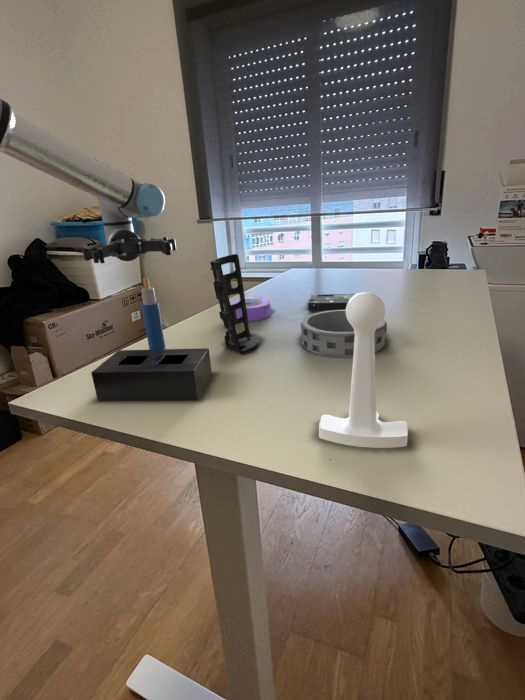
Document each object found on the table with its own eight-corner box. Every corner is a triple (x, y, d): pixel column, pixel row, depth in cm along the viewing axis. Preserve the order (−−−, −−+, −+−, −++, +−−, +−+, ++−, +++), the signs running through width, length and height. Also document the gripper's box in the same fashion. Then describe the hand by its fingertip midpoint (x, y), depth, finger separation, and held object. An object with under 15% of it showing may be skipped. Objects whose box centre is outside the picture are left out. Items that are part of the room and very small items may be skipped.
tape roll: (274, 319, 110) (273, 305, 109) (231, 323, 108) (230, 309, 107) (267, 308, 121) (266, 295, 119) (228, 312, 119) (227, 299, 118)
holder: (258, 353, 86) (241, 258, 79) (223, 358, 86) (203, 264, 80) (260, 336, 96) (245, 251, 89) (229, 341, 97) (211, 257, 90)
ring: (291, 335, 96) (290, 315, 94) (361, 325, 99) (361, 305, 98) (319, 363, 79) (319, 339, 77) (403, 349, 83) (404, 326, 81)
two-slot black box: (198, 404, 66) (193, 370, 64) (98, 404, 69) (91, 372, 67) (212, 378, 76) (208, 348, 74) (124, 379, 78) (118, 350, 76)
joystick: (317, 446, 53) (314, 297, 46) (325, 417, 60) (323, 283, 53) (407, 456, 50) (418, 297, 43) (404, 424, 57) (414, 282, 50)
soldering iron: (149, 368, 83) (134, 280, 76) (155, 362, 86) (140, 277, 79) (165, 367, 82) (150, 279, 76) (170, 361, 85) (156, 276, 79)
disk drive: (308, 312, 114) (362, 311, 111) (307, 303, 113) (362, 301, 110) (311, 303, 123) (361, 302, 120) (310, 294, 122) (361, 292, 119)
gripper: (175, 253, 109) (196, 263, 90) (75, 266, 100) (75, 278, 82) (171, 224, 106) (191, 228, 88) (68, 234, 97) (66, 240, 79)
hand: (135, 252), depth 85 cm, fingers open, 13 cm apart
